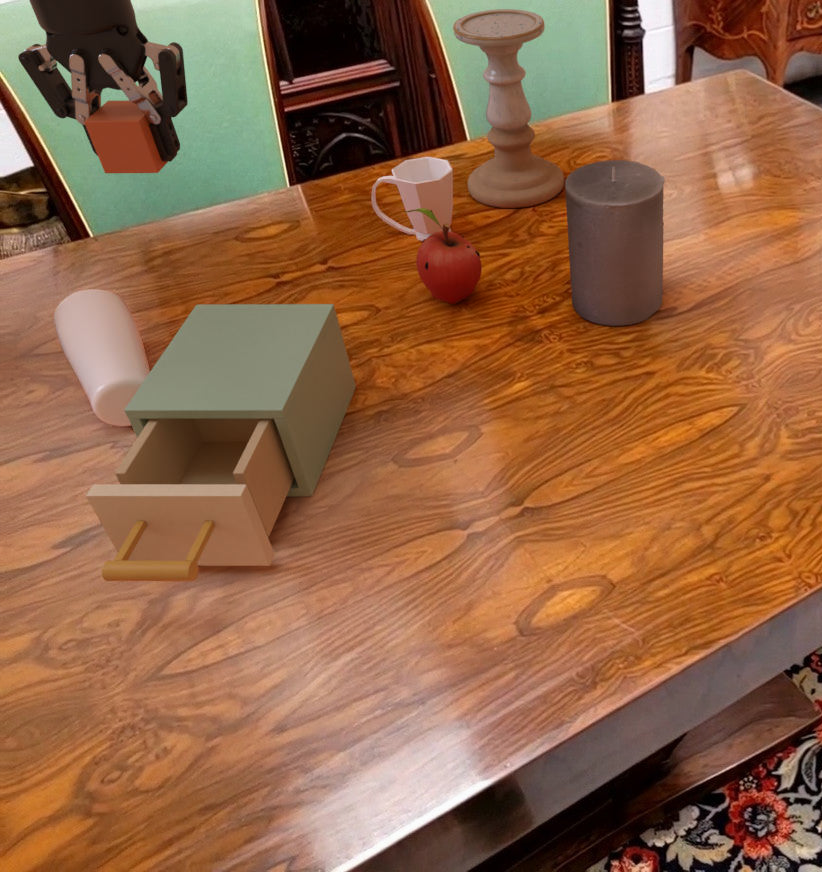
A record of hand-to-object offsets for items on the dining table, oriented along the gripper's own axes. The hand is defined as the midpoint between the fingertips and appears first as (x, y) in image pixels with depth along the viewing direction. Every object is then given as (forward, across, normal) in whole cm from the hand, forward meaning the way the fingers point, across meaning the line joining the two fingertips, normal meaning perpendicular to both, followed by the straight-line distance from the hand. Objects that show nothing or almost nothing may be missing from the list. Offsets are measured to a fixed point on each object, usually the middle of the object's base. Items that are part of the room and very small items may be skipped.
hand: (140, 157), depth 89 cm
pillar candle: (+17, -45, 0) cm, 48 cm away
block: (0, 0, 0) cm, 0 cm away
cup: (+17, -21, -15) cm, 31 cm away
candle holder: (+17, -31, -27) cm, 45 cm away
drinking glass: (+14, -2, +20) cm, 25 cm away
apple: (+17, -27, -1) cm, 32 cm away
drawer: (+16, -14, +33) cm, 39 cm away
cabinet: (+17, -14, +22) cm, 31 cm away
